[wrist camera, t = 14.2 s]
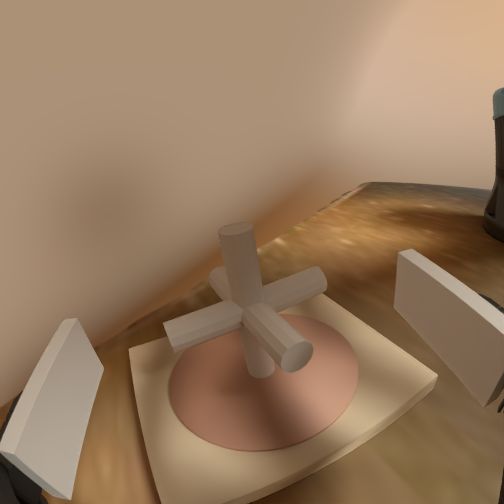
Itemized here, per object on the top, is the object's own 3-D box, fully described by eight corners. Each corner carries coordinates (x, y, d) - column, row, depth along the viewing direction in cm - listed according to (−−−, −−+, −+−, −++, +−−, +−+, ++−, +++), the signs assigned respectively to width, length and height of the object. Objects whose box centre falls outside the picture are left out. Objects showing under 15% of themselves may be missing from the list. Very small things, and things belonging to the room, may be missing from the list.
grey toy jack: (174, 354, 22) (133, 232, 18) (286, 309, 25) (271, 193, 21) (221, 454, 13) (157, 306, 9) (366, 376, 17) (378, 225, 13)
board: (309, 296, 30) (308, 281, 29) (432, 389, 16) (438, 371, 15) (134, 361, 24) (127, 345, 23) (176, 525, 10) (164, 517, 10)
